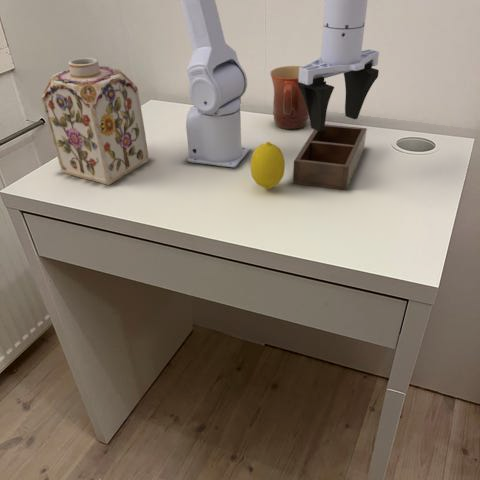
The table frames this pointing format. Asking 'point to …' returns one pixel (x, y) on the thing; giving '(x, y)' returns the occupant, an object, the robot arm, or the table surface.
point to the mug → (288, 98)
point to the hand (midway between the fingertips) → (334, 123)
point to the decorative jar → (95, 121)
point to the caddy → (330, 157)
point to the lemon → (267, 165)
